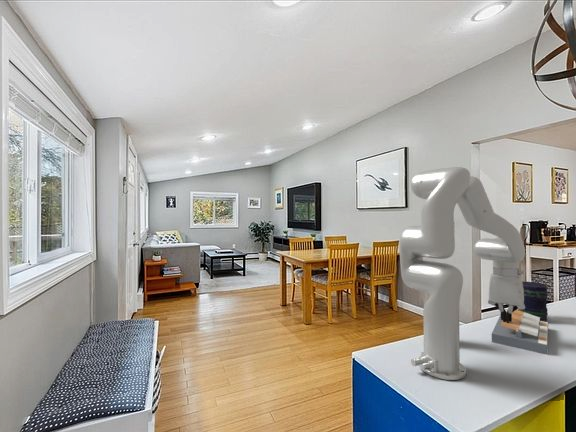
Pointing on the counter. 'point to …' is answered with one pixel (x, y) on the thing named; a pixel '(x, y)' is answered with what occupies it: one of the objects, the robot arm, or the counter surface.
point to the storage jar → (535, 300)
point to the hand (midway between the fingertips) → (506, 322)
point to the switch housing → (522, 337)
